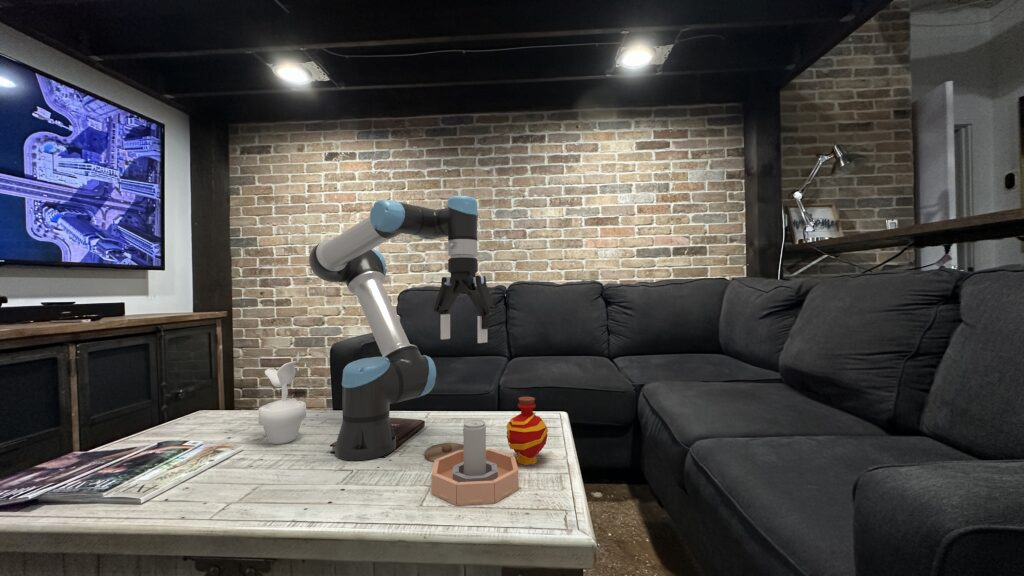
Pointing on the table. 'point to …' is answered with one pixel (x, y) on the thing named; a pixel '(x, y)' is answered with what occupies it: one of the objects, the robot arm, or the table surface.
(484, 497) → the dish
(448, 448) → the walnut lid
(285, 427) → the potted plant
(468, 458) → the beverage can
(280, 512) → the table surface
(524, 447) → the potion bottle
